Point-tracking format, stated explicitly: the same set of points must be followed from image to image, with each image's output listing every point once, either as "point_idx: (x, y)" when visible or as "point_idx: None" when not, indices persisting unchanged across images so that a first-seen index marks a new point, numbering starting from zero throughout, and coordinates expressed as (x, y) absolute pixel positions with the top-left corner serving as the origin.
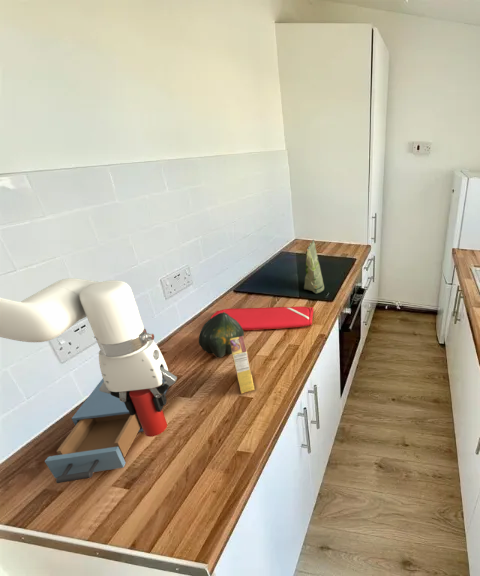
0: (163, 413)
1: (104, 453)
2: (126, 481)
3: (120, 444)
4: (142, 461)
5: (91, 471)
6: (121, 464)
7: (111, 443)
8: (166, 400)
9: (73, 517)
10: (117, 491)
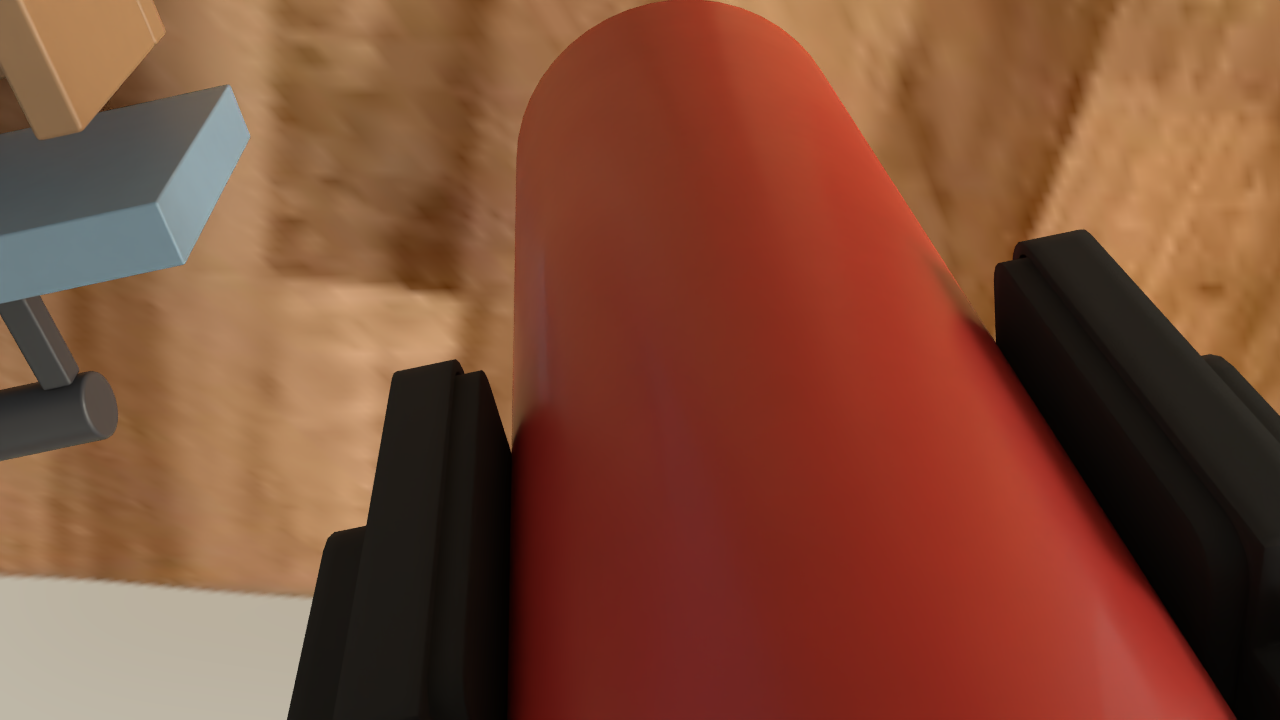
0: (876, 159)
1: (63, 287)
2: (376, 231)
3: (95, 78)
4: (373, 14)
5: (87, 401)
6: (237, 160)
7: None
8: (1214, 358)
9: (194, 501)
10: (369, 317)
